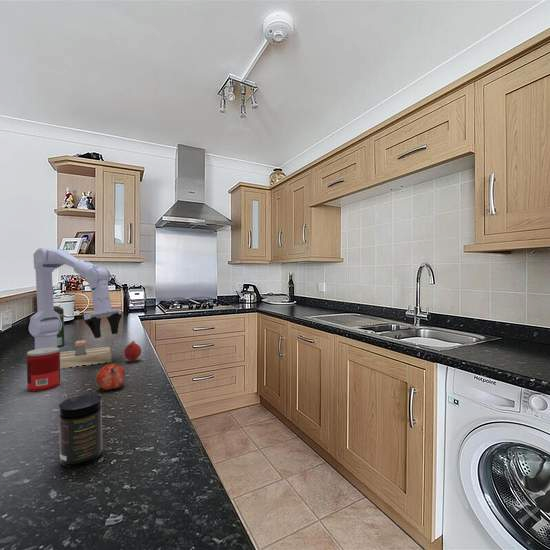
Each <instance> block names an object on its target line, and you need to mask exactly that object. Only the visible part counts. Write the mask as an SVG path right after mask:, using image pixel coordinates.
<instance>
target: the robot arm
mask: <svg viewBox="0 0 550 550" xmlns="http://www.w3.org/2000/svg"><path fill="white" fill-rule="evenodd" d="M32 255H33V269H34V270H35V287H36V306H37V307H36V309H37V312H35V313H34V314H33V315H31V316H30V317H29V320H30V321H29V325H28V332H29V333H30V335H31V336H32V337H33V338H34V350H35V349H40V348H48V347H57V334H59V331H60V330H61V328H62V322H61V320H60V315H59V314H58V313H57V312H55V311H54V306H55V305H54V289H53V288H54V287H53V272H54V271H55V270H57V269H59V268H60V267H62V266H63V265H67V266H69V267H71V268H73V271H74V273H76V274H78V275H79V276H81V277H83V278H84V279H85V280H86V282H87V284H88V287H89V289H90V290H91V291H90V292H91V299H92V305H93V312H90V313H84V314H83V318H84V322H85V324H86V325H87V326H88V328H89V329H90V331H91V333H92V335H93V338H94V339H101V338H102V337H101V336H102V334H101V333H102V332H101V321H102V317H103V318H104V317H106V319H107V321H108V323H109V327H110V331H111V334H112V335H117V334H118V332H119V324H120V322H121V319H122V317H123V315H122V310H121V308H118V309H112V302H111V295H110V289H109V283H108V282H110V279H111V272H110V270H109V269H108V268H107V267H99V266H98V265H97V264H93V263H91V262H90V260H89V259H84V258H83V259H78V258H76V256H74V255H72V254H70V252H69V251H68V250H66V249H61V248H60V249H59V248H58V249H56V248H44V247H39V248H37V249H36V250H35V251H34V252H33V254H32ZM44 318H49V319H44ZM57 348H58V347H57Z"/></svg>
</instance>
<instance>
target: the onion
mask: <svg viewBox="0 0 550 550" xmlns="http://www.w3.org/2000/svg"><path fill="white" fill-rule="evenodd" d="M123 353H124V357H125V358H126V359H127V360H128V361H130V362H133V361H134V362H135V361H136V360H137V359H138V358H140V356H141V354H142V347H140V345H139V344H137V343H136V341H135V340H131V342H130V343H129V344H128V345H127V346H126V347H125V349H124V352H123Z"/></svg>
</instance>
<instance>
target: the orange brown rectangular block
mask: <svg viewBox="0 0 550 550" xmlns="http://www.w3.org/2000/svg"><path fill="white" fill-rule="evenodd" d="M74 345H75V351H76V356H80V355H85V349H86V339H84V340H83V339H82V340H76V341H75V343H74Z"/></svg>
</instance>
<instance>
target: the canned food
mask: <svg viewBox="0 0 550 550" xmlns="http://www.w3.org/2000/svg"><path fill="white" fill-rule="evenodd" d="M60 352H61V350H60V348H59V347H48V348H40V349H35V348H34V349H32V350H29V351H27V353H26V388H27V389H28V391H30V392H42V391H41V390H43V391H47V389H48V390H51V389H54V388H56V387H58V386H59V385H60V383H61V369H60Z"/></svg>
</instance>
